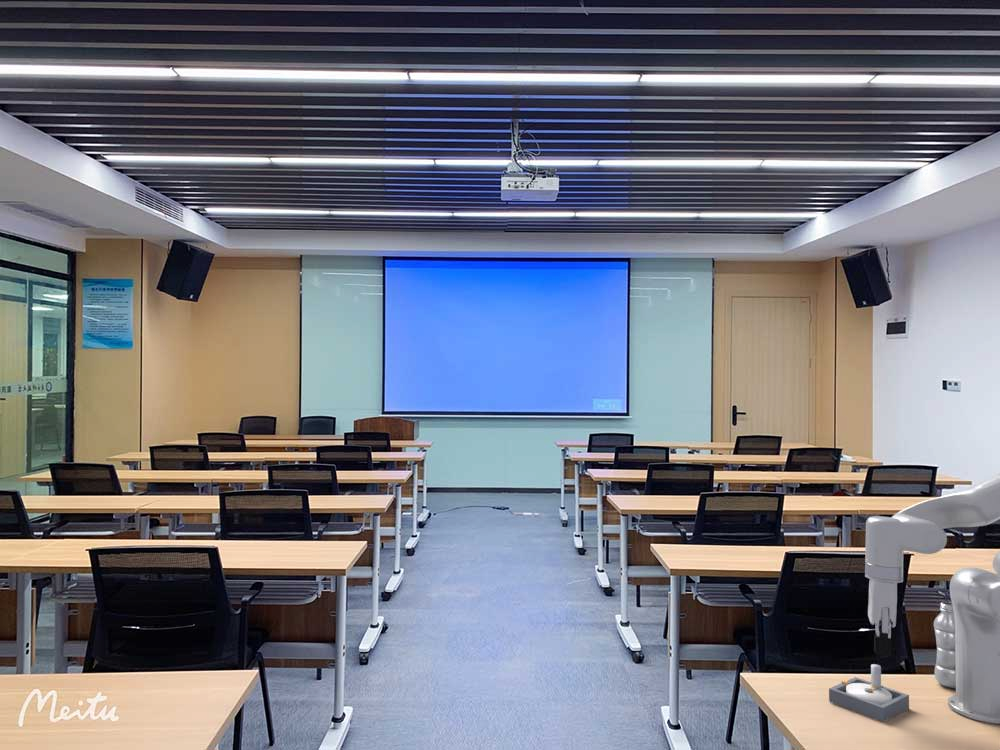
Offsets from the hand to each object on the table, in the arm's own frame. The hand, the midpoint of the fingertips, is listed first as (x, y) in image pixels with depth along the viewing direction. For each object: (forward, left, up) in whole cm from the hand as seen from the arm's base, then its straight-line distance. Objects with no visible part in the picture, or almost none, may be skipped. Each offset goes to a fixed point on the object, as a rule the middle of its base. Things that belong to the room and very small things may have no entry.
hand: (882, 654), depth 152 cm
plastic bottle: (-28, +3, -13) cm, 31 cm away
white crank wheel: (0, -3, -11) cm, 11 cm away
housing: (0, -3, -12) cm, 13 cm away
